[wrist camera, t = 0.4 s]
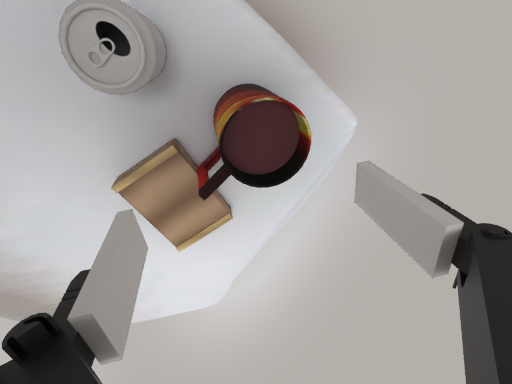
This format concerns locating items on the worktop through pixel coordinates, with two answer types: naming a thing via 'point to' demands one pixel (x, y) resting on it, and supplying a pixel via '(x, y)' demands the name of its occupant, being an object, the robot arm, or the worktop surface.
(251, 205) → the worktop surface
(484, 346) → the robot arm
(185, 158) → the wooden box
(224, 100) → the mug
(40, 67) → the worktop surface
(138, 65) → the can
